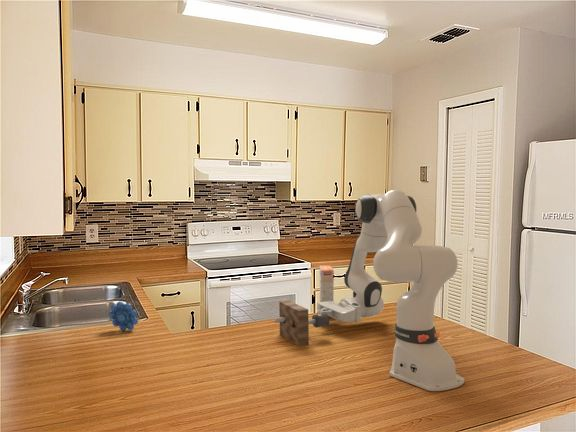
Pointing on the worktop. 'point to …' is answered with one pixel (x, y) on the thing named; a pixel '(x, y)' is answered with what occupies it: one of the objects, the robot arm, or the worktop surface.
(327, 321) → the black knob
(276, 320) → the teal knob
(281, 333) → the block
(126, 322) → the blue gear
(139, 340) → the worktop surface
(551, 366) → the worktop surface
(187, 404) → the worktop surface
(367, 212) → the robot arm
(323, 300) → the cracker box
